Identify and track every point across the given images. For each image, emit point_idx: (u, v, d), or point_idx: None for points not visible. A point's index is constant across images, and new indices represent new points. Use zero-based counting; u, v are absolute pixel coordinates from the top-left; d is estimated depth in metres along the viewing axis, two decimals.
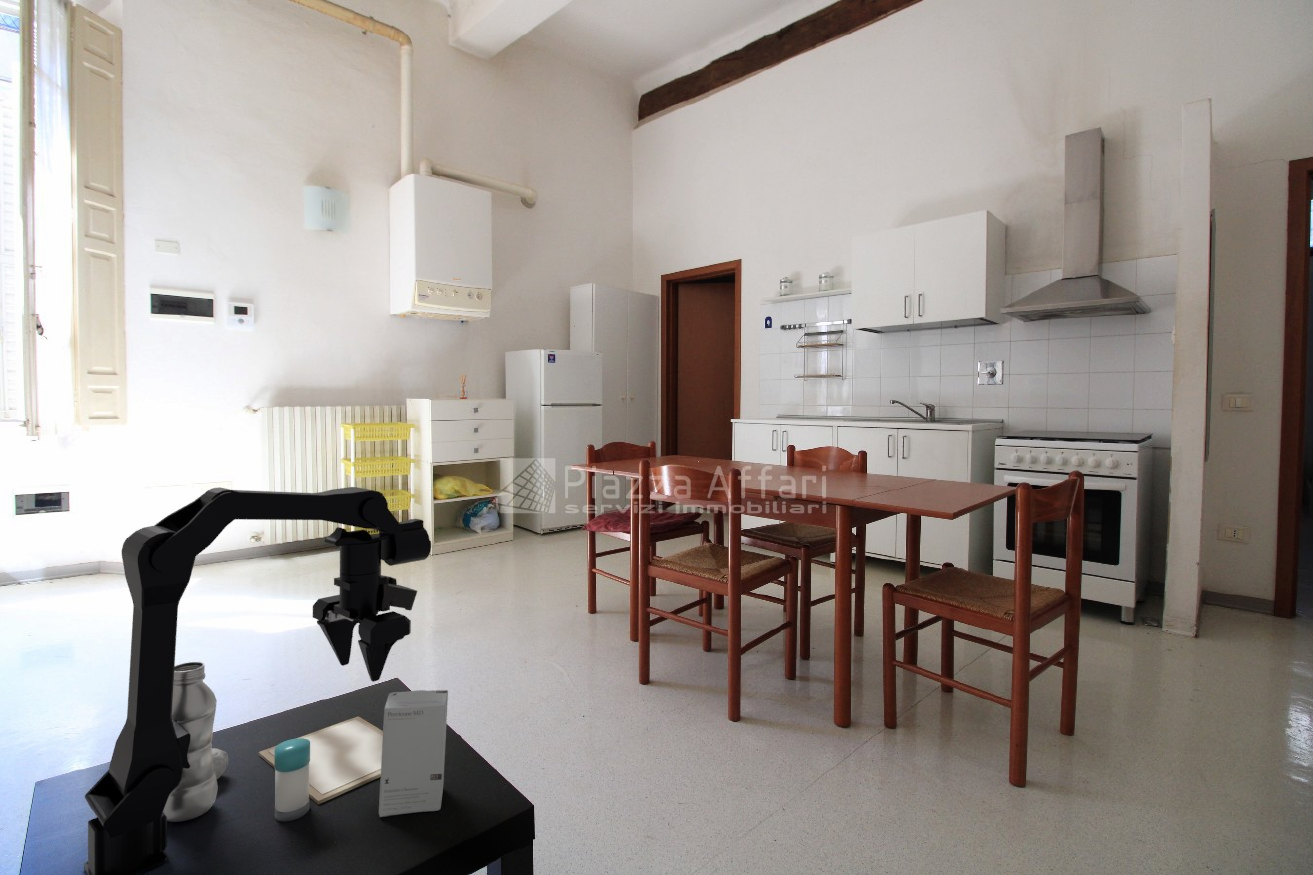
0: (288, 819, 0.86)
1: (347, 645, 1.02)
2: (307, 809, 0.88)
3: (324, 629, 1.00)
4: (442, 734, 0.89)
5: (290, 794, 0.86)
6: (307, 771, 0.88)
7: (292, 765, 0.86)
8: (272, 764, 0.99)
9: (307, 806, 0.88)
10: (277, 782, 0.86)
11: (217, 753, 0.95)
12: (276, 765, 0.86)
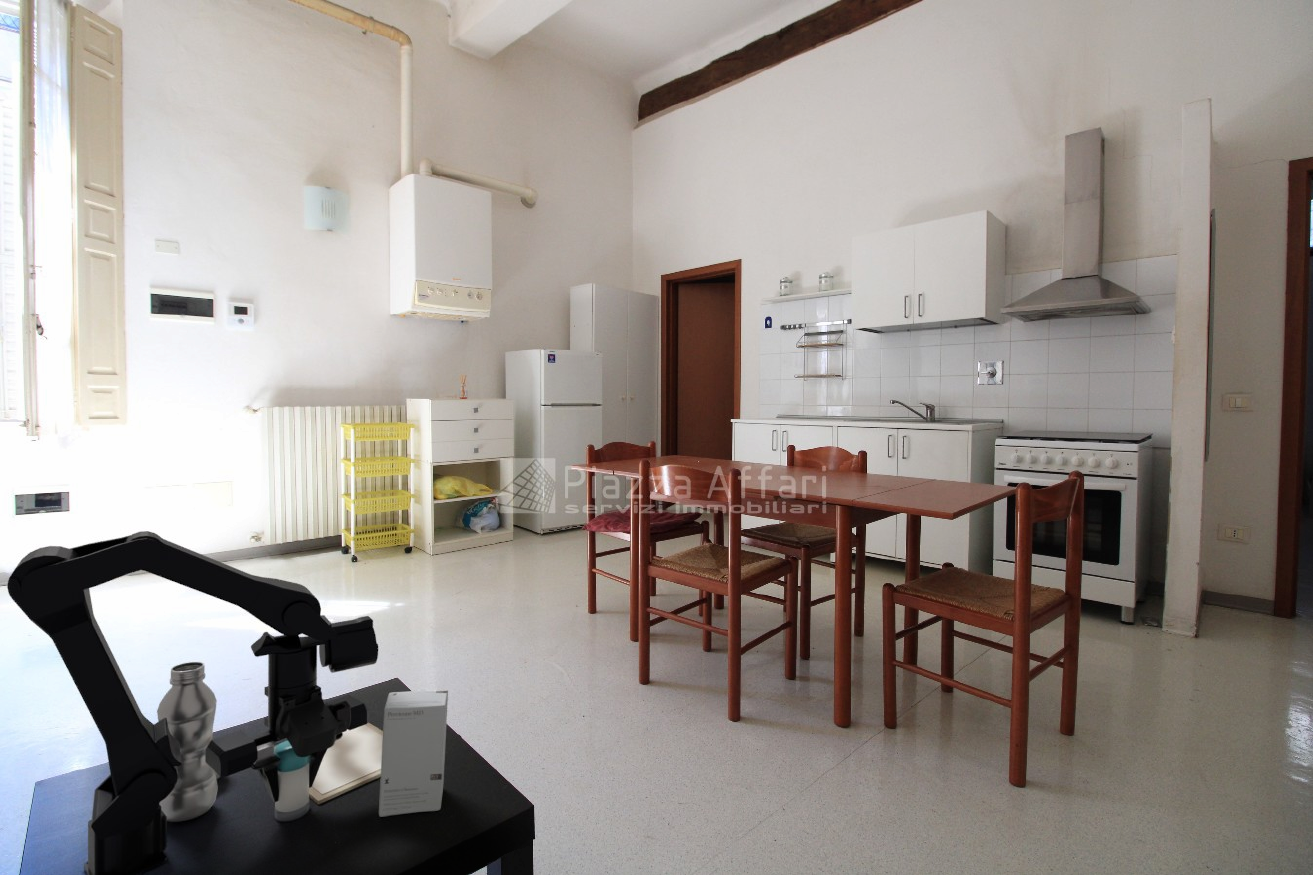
0: (288, 819, 0.86)
1: (310, 766, 0.89)
2: (307, 809, 0.88)
3: None
4: (442, 734, 0.89)
5: (290, 794, 0.86)
6: (307, 771, 0.88)
7: (292, 765, 0.86)
8: None
9: (307, 806, 0.88)
10: None
11: None
12: None
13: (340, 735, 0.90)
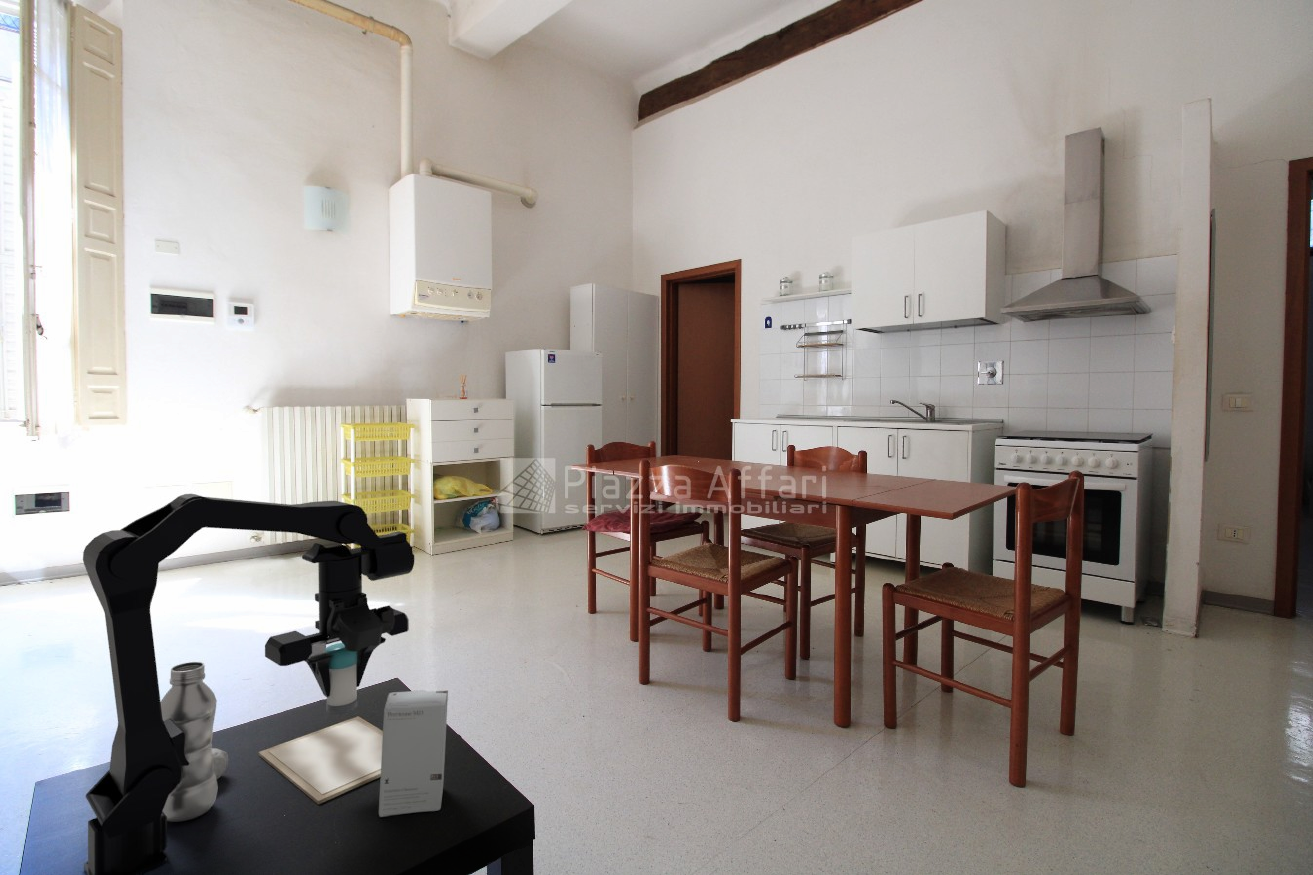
0: (339, 712, 0.94)
1: (357, 667, 0.97)
2: (355, 705, 0.96)
3: None
4: (442, 734, 0.89)
5: (341, 690, 0.94)
6: (355, 670, 0.96)
7: (342, 663, 0.94)
8: (272, 764, 0.99)
9: (355, 702, 0.96)
10: None
11: (217, 753, 0.95)
12: None
13: (383, 639, 0.98)
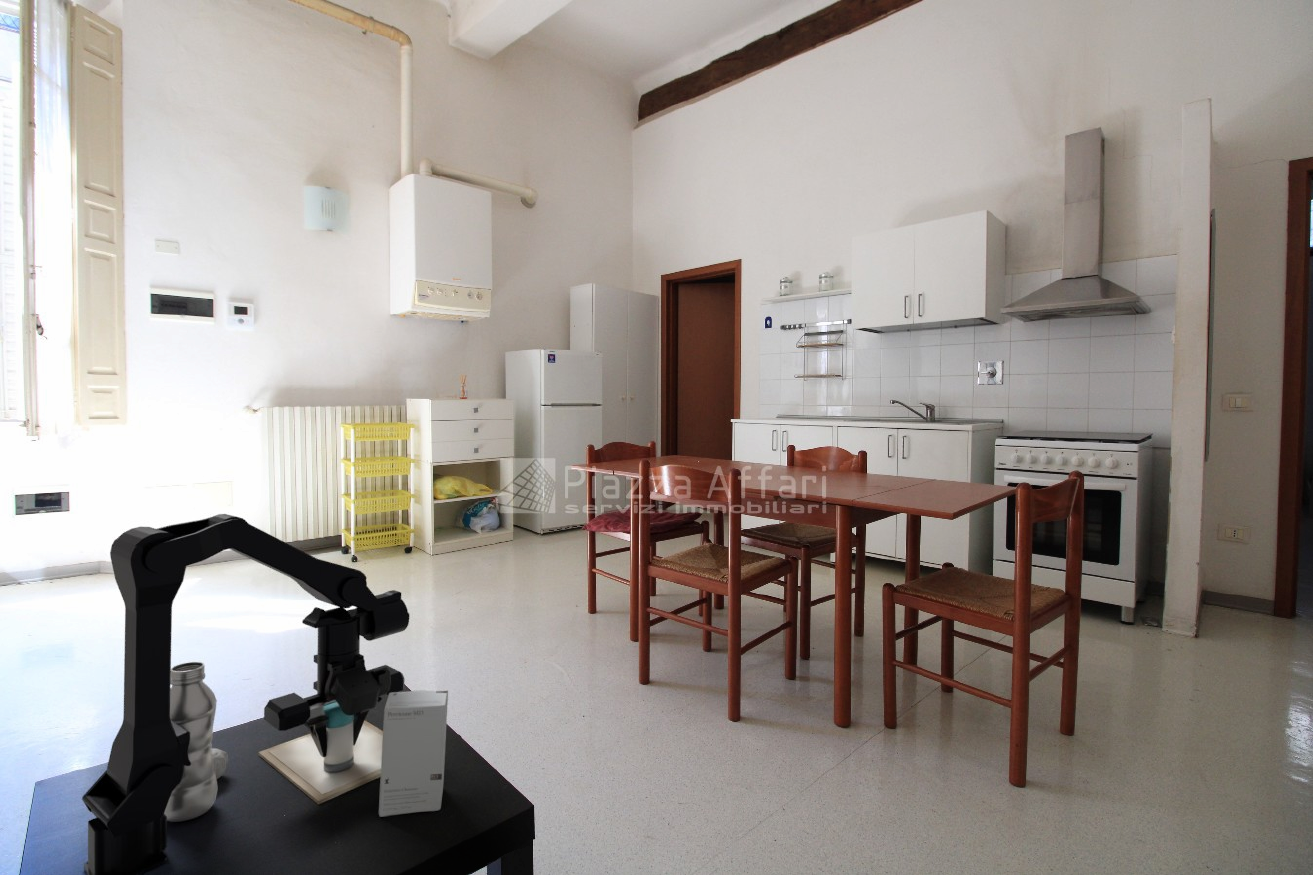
0: (336, 771, 0.96)
1: (353, 727, 1.00)
2: (352, 763, 0.98)
3: None
4: (442, 734, 0.89)
5: (338, 748, 0.96)
6: (352, 728, 0.98)
7: (339, 722, 0.96)
8: (272, 764, 0.99)
9: (352, 760, 0.98)
10: None
11: (217, 753, 0.95)
12: None
13: (380, 699, 1.00)
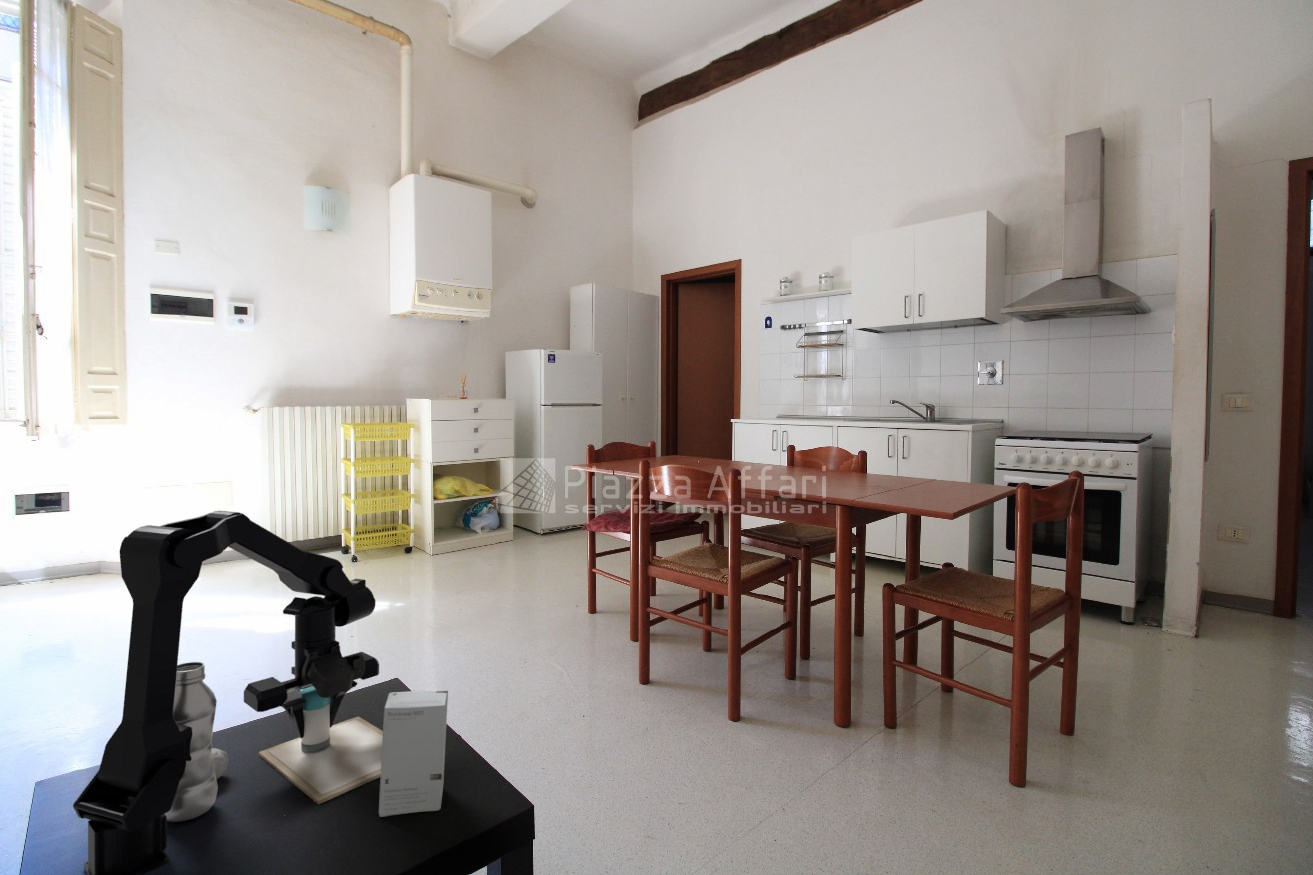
0: (313, 751, 1.02)
1: (330, 709, 1.05)
2: (328, 743, 1.04)
3: None
4: (442, 734, 0.89)
5: (314, 730, 1.02)
6: (328, 711, 1.04)
7: (315, 705, 1.02)
8: (272, 764, 0.99)
9: (328, 741, 1.04)
10: None
11: (217, 753, 0.95)
12: None
13: (355, 683, 1.06)
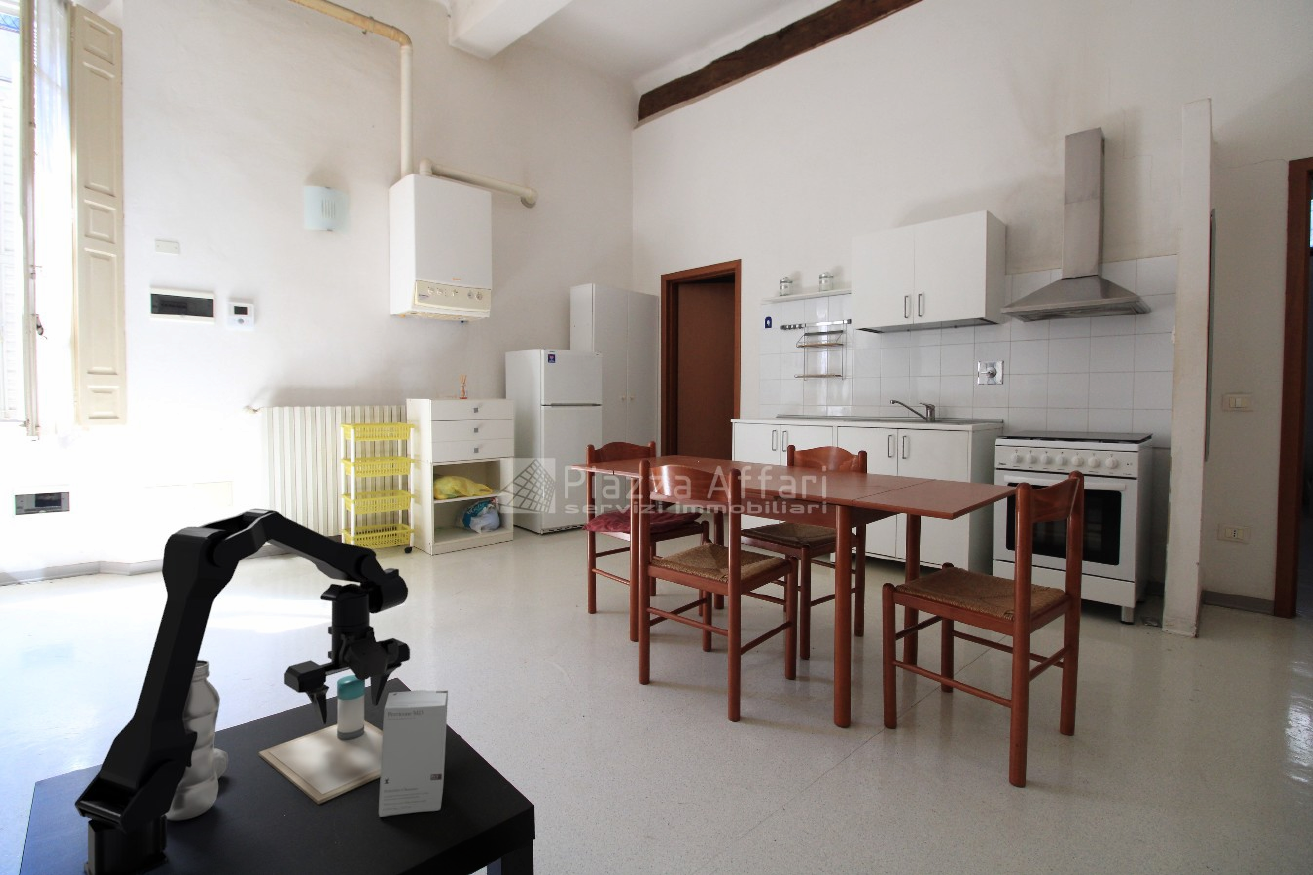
0: (348, 738, 1.06)
1: (376, 688, 1.11)
2: (363, 731, 1.08)
3: None
4: (442, 734, 0.89)
5: (350, 718, 1.06)
6: (363, 700, 1.08)
7: (352, 694, 1.06)
8: (272, 764, 0.99)
9: (363, 729, 1.08)
10: (339, 708, 1.06)
11: (217, 753, 0.95)
12: (339, 694, 1.06)
13: (400, 664, 1.12)
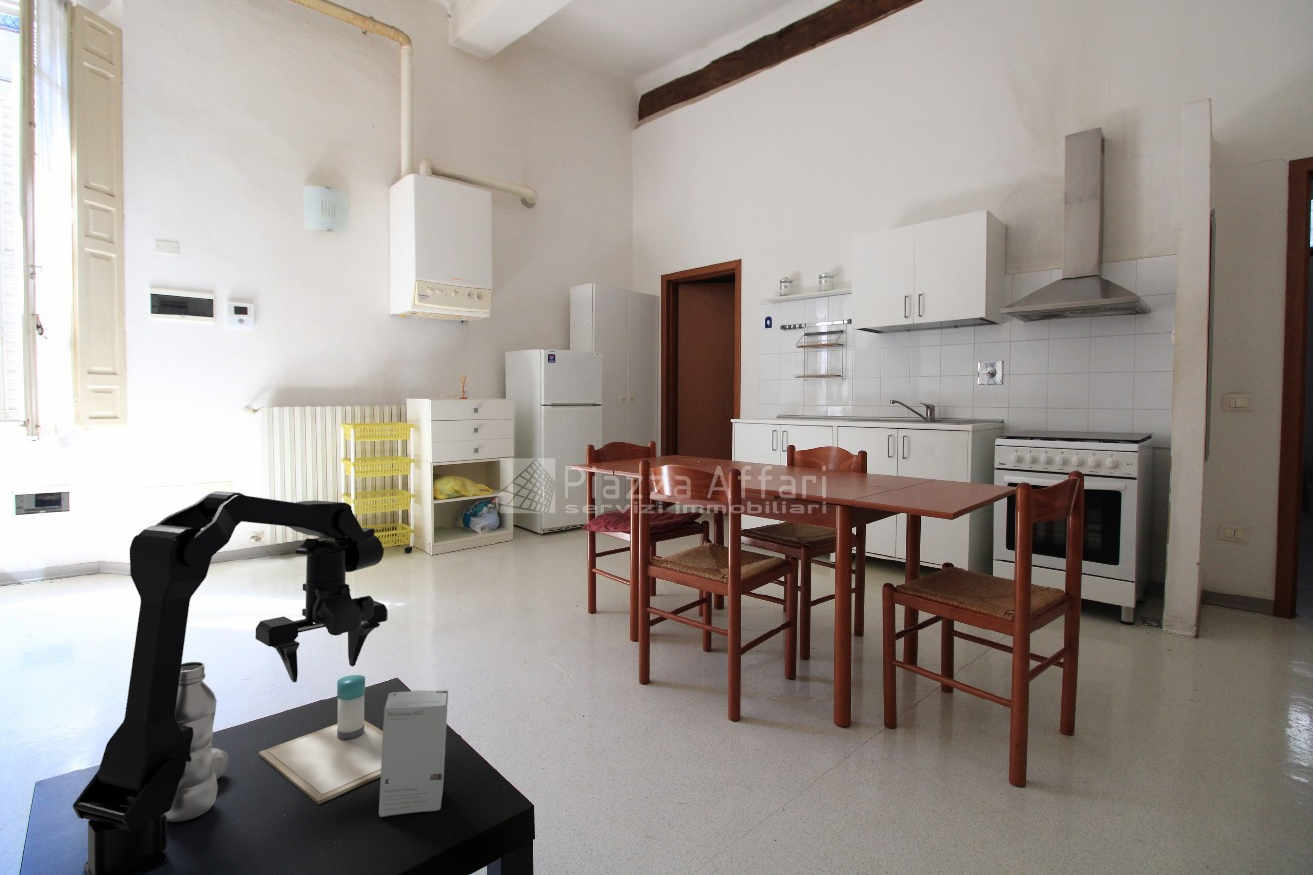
0: (348, 738, 1.06)
1: (353, 649, 1.09)
2: (363, 731, 1.08)
3: None
4: (442, 734, 0.89)
5: (350, 718, 1.06)
6: (363, 700, 1.08)
7: (352, 694, 1.06)
8: (272, 764, 0.99)
9: (363, 729, 1.08)
10: (339, 708, 1.06)
11: (217, 753, 0.95)
12: (339, 694, 1.06)
13: (378, 624, 1.10)
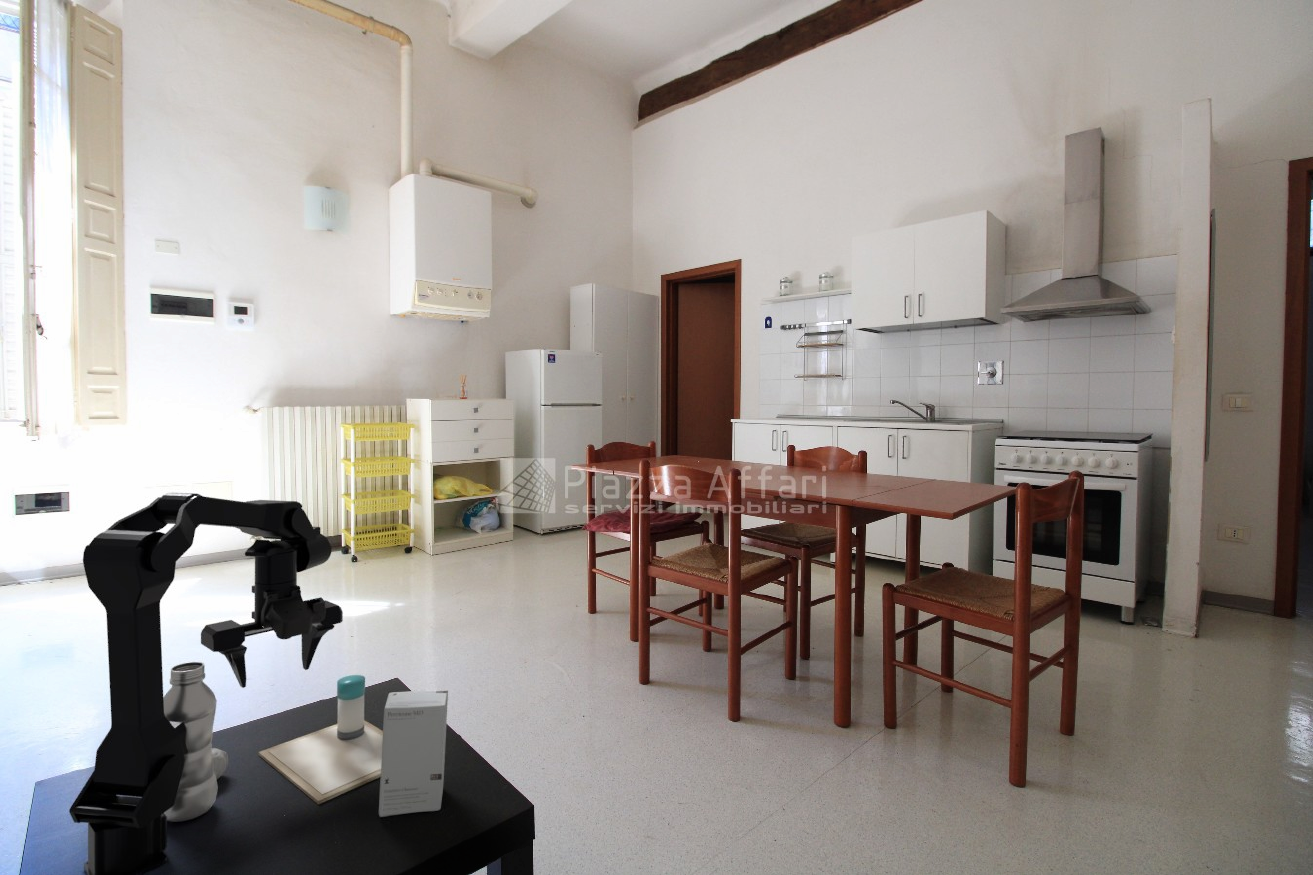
0: (348, 738, 1.06)
1: (307, 651, 1.06)
2: (363, 731, 1.08)
3: None
4: (442, 734, 0.89)
5: (350, 718, 1.06)
6: (363, 700, 1.08)
7: (352, 694, 1.06)
8: (272, 764, 0.99)
9: (363, 729, 1.08)
10: (339, 708, 1.06)
11: (217, 753, 0.95)
12: (339, 694, 1.06)
13: (332, 626, 1.06)
